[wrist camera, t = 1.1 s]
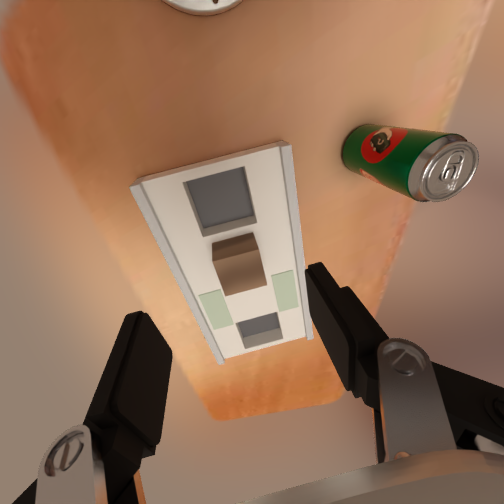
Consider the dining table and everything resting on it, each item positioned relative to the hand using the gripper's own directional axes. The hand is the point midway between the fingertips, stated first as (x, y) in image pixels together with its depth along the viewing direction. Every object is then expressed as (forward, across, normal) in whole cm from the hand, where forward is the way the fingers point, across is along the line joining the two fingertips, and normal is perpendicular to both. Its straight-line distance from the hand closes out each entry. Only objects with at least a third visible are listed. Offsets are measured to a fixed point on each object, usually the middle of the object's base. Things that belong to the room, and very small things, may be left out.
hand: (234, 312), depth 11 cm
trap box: (+20, 0, +12) cm, 23 cm away
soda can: (+20, -17, 0) cm, 26 cm away
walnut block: (+17, 0, +8) cm, 19 cm away
